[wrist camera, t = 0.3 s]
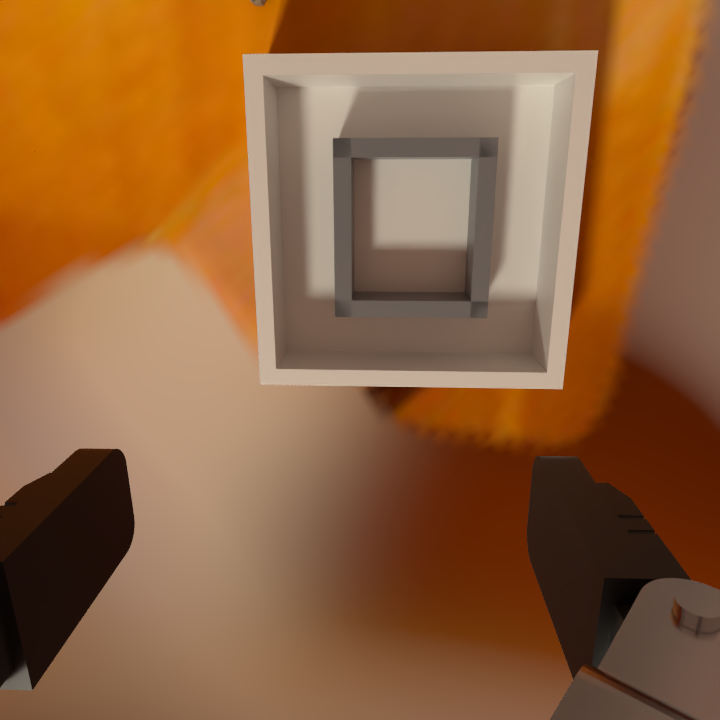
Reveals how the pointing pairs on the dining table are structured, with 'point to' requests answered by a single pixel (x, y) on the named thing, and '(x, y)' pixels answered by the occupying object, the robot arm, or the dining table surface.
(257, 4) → the handle
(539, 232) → the box
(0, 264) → the dining table surface
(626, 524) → the robot arm
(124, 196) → the dining table surface
